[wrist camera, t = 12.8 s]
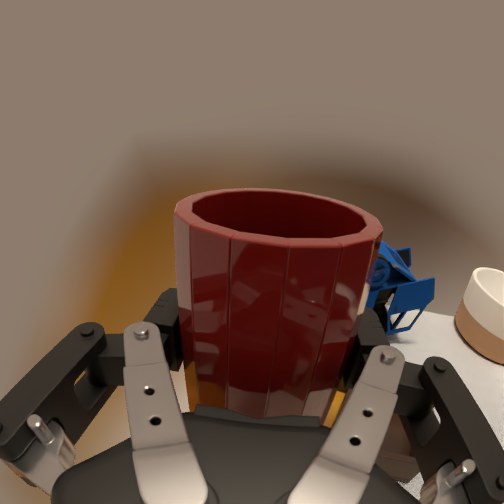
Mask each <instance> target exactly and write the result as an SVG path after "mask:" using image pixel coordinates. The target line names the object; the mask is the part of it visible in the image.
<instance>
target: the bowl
mask: <svg viewBox="0 0 504 504" xmlns="http://www.w3.org/2000/svg"><path fill="white" fill-rule="evenodd" d="M455 322H456V325H457V328H458V330H459V332H460V333H461V335H462V336H463V337H464V339H465V340H466V341H467V342H468V343H469V344H470V345H471V346H472V347H473V348H474V349H476V350H477V351H478V352H479V353H481V354H482V355H484V356H485V357H487V358H489V359H491V360H493V361H495V362H498V363H501V364H504V272H502V271H499V270H496V269H492V268H484V267H483V268H477V269H475V270H474V272H473V273H472V276H471V278H470V281H469V284H468V286H467V289H466V291H465V293H464V296H463V299H462V301H461V303H460V306H459V308H458V310H457V312H456V316H455Z"/></svg>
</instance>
